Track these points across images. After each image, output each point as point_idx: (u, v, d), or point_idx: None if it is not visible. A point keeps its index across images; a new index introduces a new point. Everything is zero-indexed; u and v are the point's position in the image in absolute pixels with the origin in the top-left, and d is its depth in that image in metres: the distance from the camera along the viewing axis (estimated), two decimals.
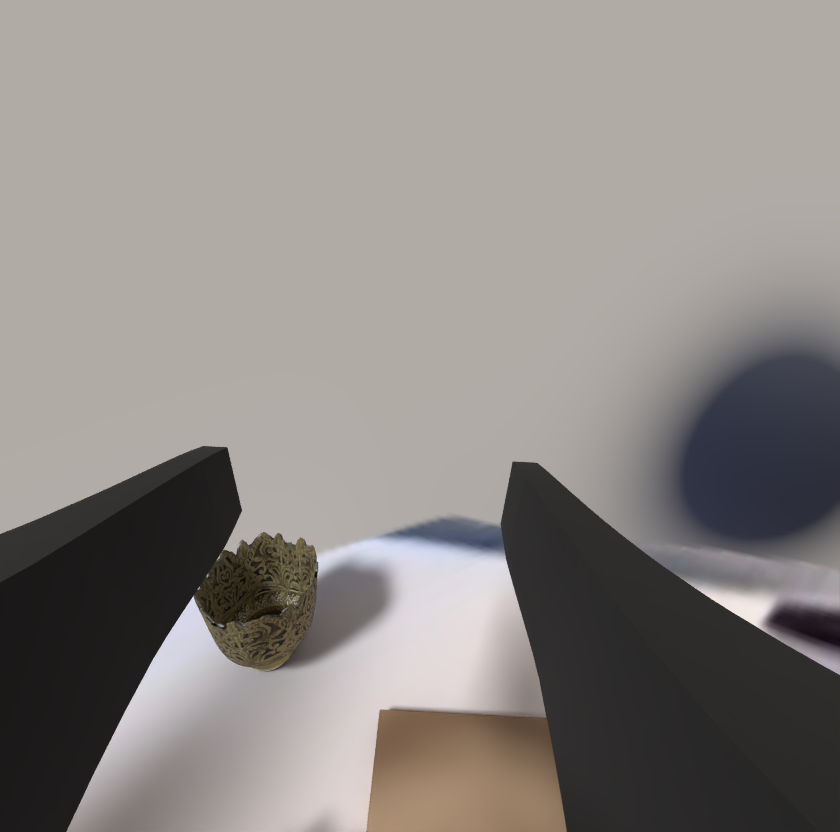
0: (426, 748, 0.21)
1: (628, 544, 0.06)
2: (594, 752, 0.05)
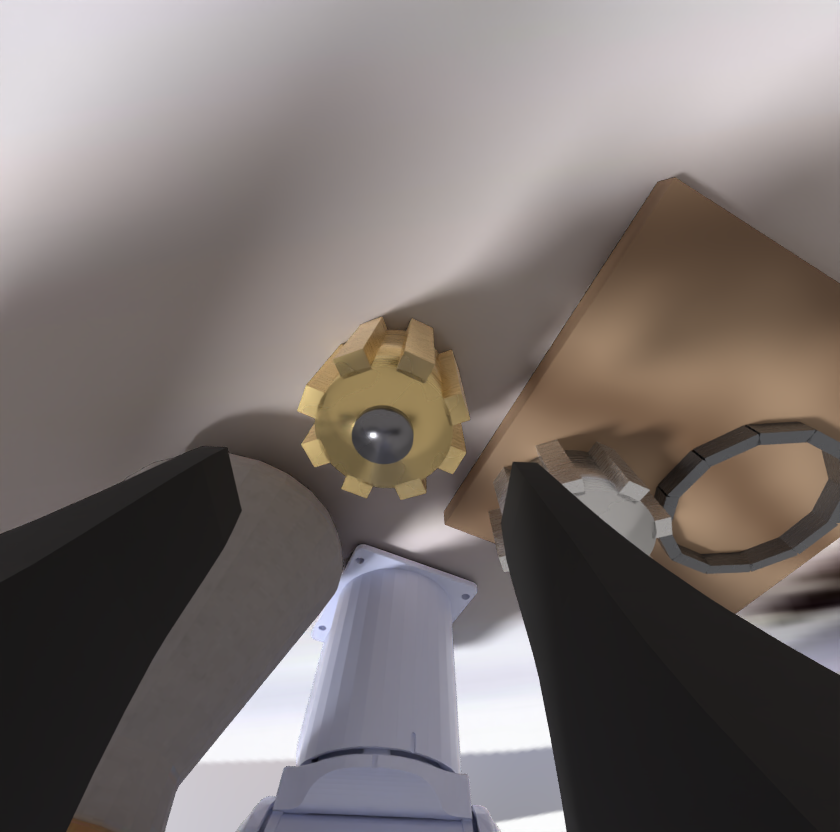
0: (701, 271, 0.13)
1: (627, 544, 0.06)
2: (594, 753, 0.05)
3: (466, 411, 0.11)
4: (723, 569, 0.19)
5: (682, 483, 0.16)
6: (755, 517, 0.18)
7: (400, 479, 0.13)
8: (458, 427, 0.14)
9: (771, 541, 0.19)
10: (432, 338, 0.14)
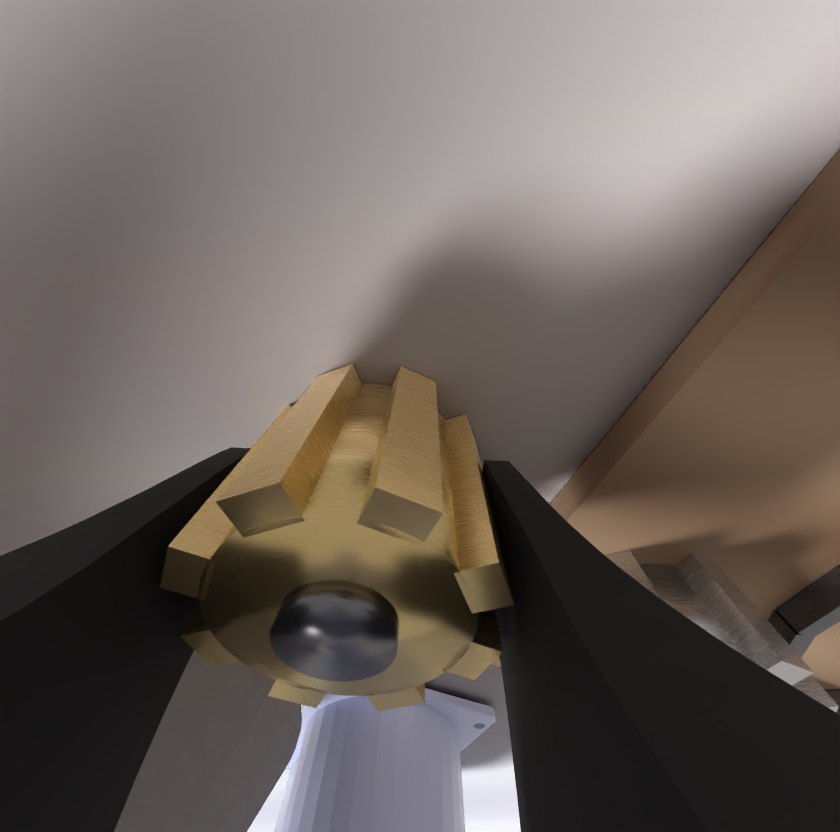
0: None
1: (583, 541, 0.06)
2: (542, 750, 0.05)
3: (507, 591, 0.06)
4: None
5: (824, 618, 0.10)
6: None
7: (375, 685, 0.07)
8: None
9: None
10: (435, 412, 0.08)
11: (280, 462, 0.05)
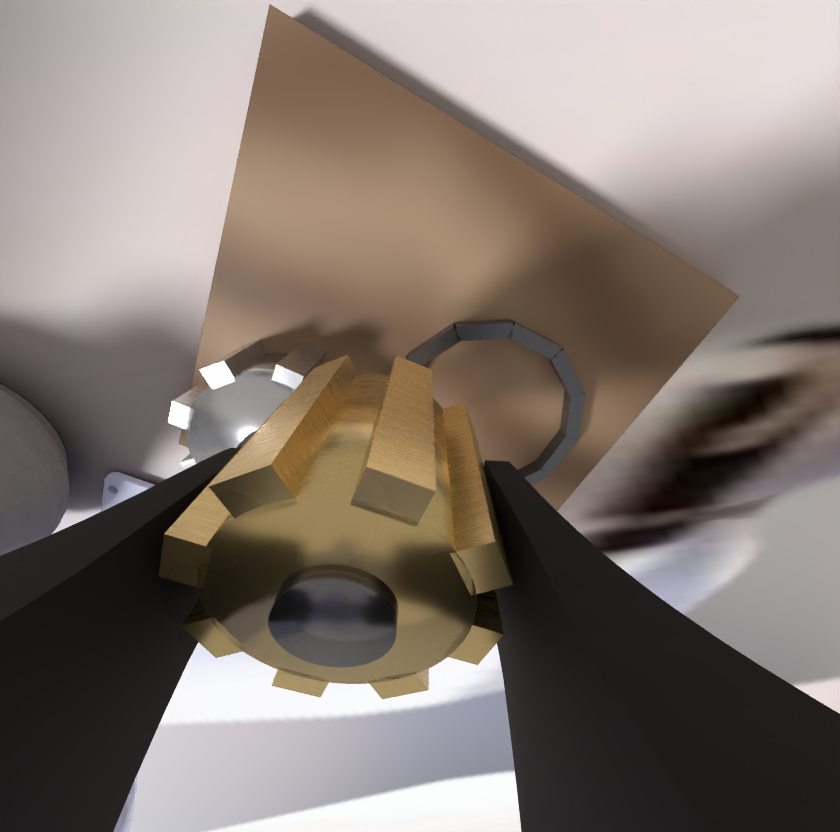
0: (341, 128, 0.12)
1: (584, 542, 0.06)
2: (542, 750, 0.05)
3: (505, 571, 0.05)
4: None
5: None
6: (504, 437, 0.17)
7: (377, 671, 0.07)
8: None
9: (528, 465, 0.18)
10: (431, 398, 0.08)
11: (272, 447, 0.05)
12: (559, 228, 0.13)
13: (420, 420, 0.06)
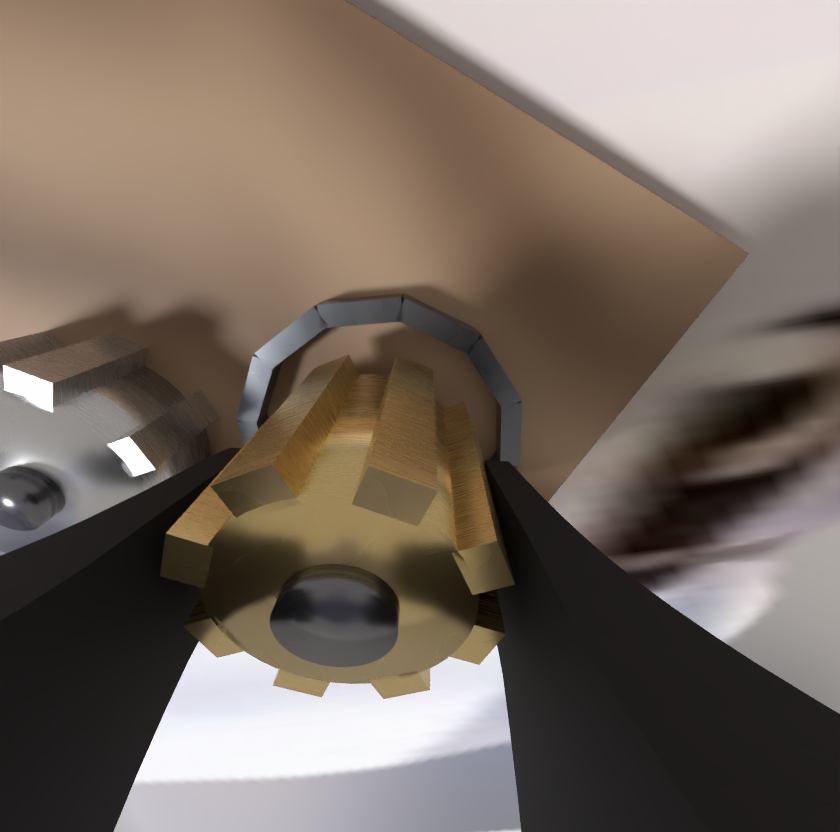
0: None
1: (584, 541, 0.06)
2: (542, 750, 0.05)
3: (507, 570, 0.05)
4: None
5: (245, 399, 0.10)
6: None
7: (379, 671, 0.07)
8: None
9: None
10: (432, 397, 0.08)
11: (274, 446, 0.05)
12: (462, 146, 0.08)
13: (422, 420, 0.06)
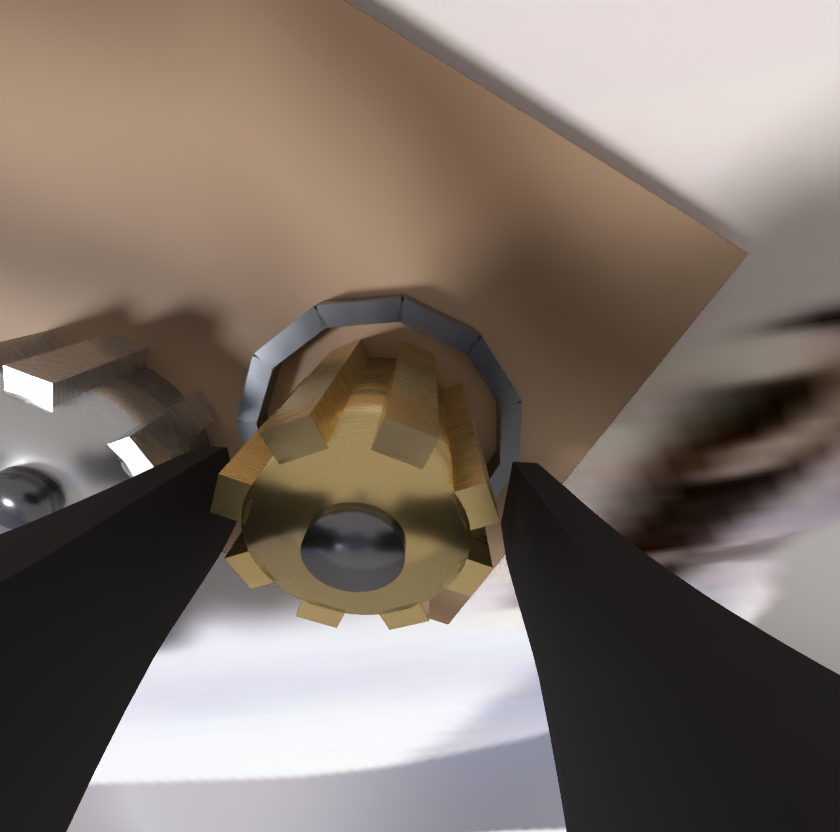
0: None
1: (627, 544, 0.06)
2: (594, 753, 0.05)
3: (494, 509, 0.07)
4: None
5: (245, 399, 0.10)
6: None
7: (386, 603, 0.08)
8: None
9: None
10: (434, 375, 0.09)
11: (307, 404, 0.06)
12: (462, 146, 0.08)
13: (425, 390, 0.08)
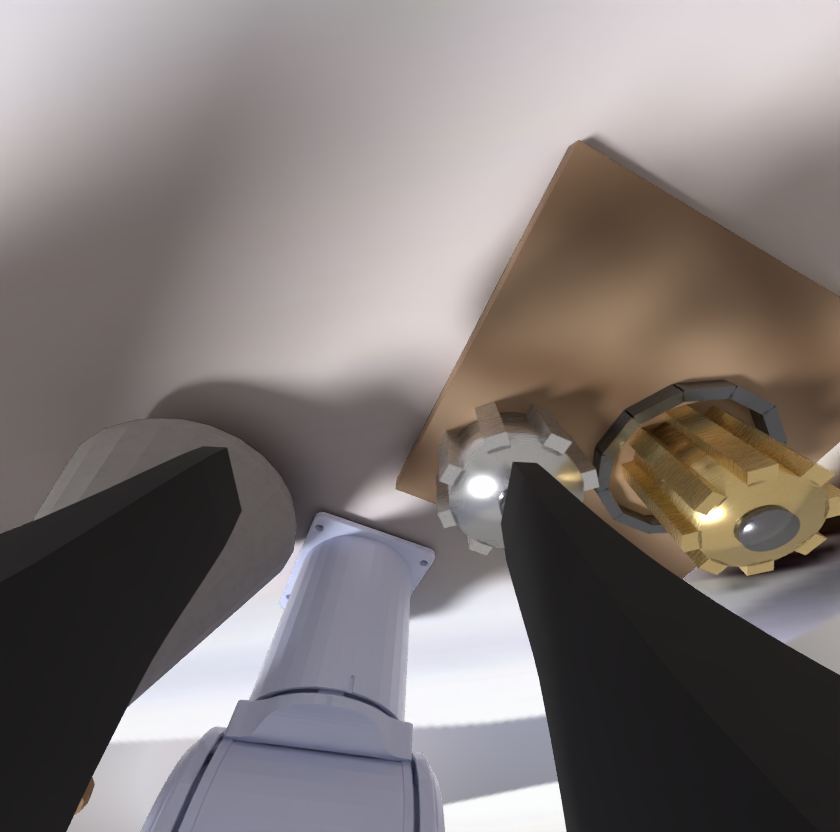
0: (614, 232, 0.14)
1: (627, 544, 0.06)
2: (594, 753, 0.05)
3: None
4: (665, 529, 0.19)
5: (614, 442, 0.17)
6: None
7: (755, 560, 0.15)
8: None
9: None
10: (761, 431, 0.15)
11: (757, 456, 0.13)
12: (786, 305, 0.15)
13: (782, 444, 0.14)
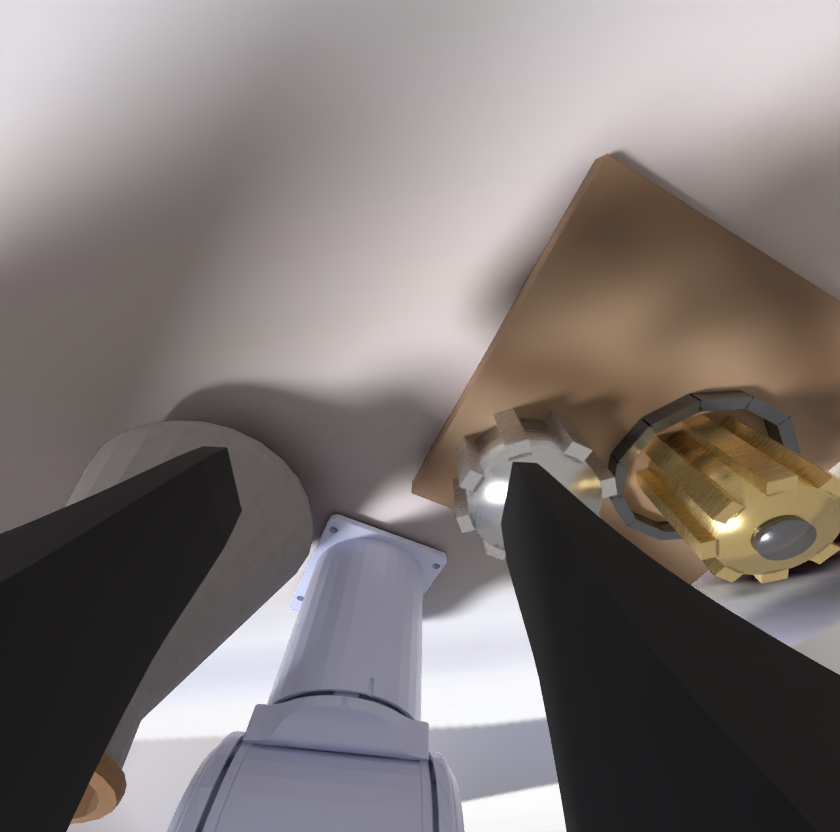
0: (638, 244, 0.14)
1: (627, 544, 0.06)
2: (594, 752, 0.05)
3: None
4: (676, 535, 0.20)
5: (631, 449, 0.17)
6: None
7: (770, 568, 0.15)
8: None
9: None
10: (776, 441, 0.16)
11: (776, 467, 0.13)
12: (804, 318, 0.15)
13: (799, 455, 0.15)
